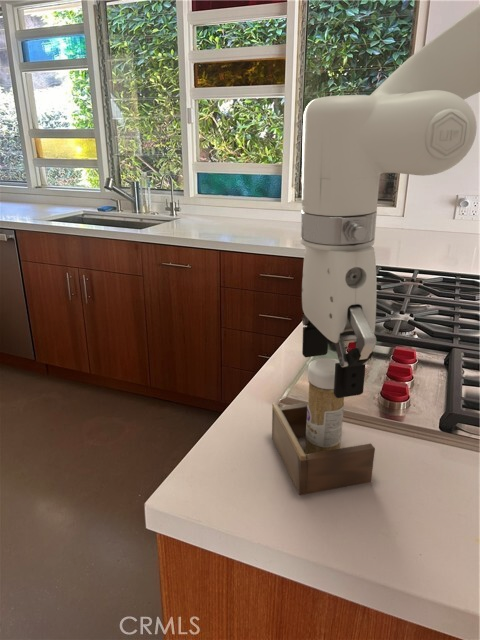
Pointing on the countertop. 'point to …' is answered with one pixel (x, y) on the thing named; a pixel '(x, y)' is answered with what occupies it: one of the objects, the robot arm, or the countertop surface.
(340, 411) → the sprinkles bottle
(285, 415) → the u-shaped bracket
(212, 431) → the countertop surface
